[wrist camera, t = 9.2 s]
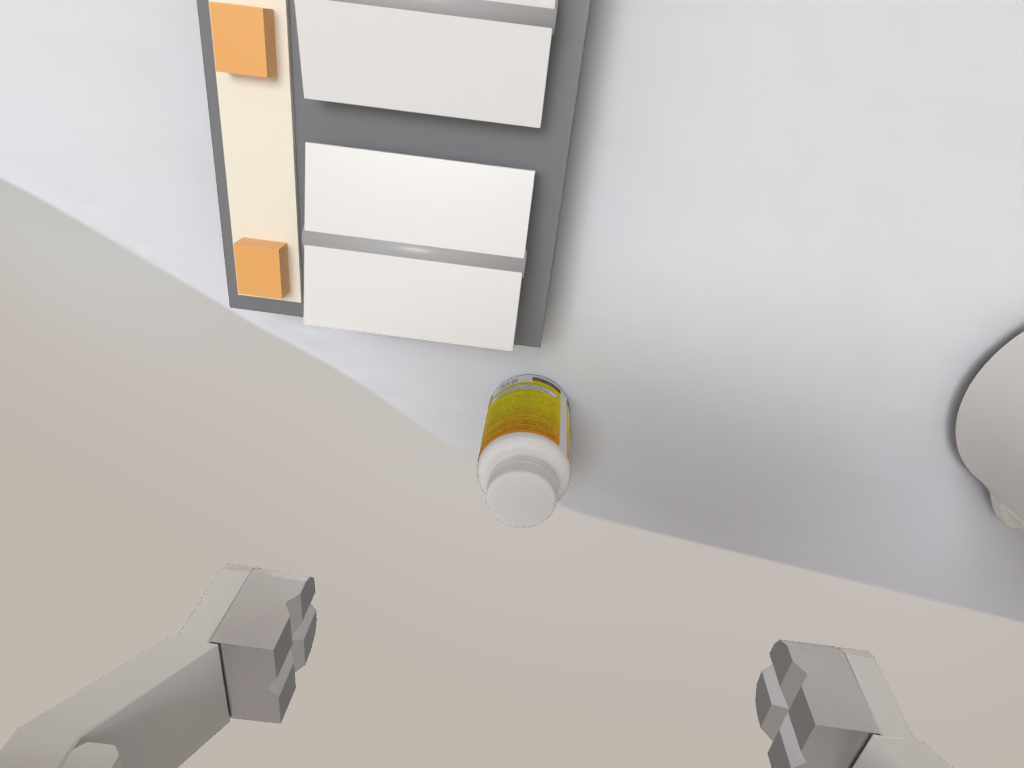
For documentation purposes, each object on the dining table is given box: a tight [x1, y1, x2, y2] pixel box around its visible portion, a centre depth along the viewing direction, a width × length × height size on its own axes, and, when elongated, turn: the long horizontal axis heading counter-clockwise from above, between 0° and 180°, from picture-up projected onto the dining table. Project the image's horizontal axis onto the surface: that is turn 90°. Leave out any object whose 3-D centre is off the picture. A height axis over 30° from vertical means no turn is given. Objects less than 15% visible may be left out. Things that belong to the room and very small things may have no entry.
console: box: [197, 0, 590, 348], centre depth 34 cm, size 18×22×6 cm
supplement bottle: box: [477, 375, 571, 527], centre depth 41 cm, size 6×6×10 cm
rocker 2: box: [302, 142, 535, 351], centre depth 33 cm, size 11×9×1 cm
